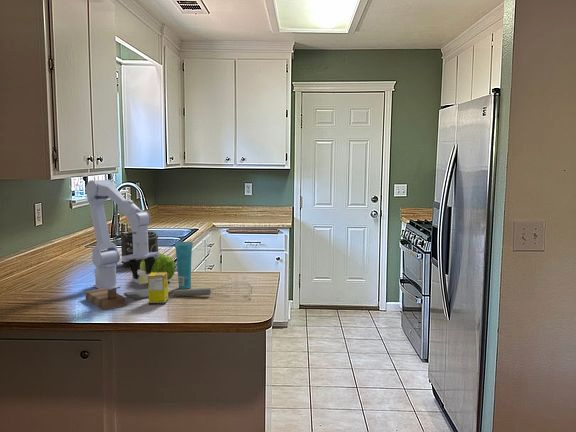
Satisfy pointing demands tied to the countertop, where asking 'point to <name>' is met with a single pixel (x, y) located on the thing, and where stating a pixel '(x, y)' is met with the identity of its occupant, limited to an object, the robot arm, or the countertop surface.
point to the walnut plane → (105, 298)
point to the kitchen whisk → (203, 291)
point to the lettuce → (161, 265)
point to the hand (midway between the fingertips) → (141, 277)
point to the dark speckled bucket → (128, 245)
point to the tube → (184, 263)
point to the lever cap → (141, 277)
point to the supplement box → (158, 288)
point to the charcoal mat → (138, 294)
